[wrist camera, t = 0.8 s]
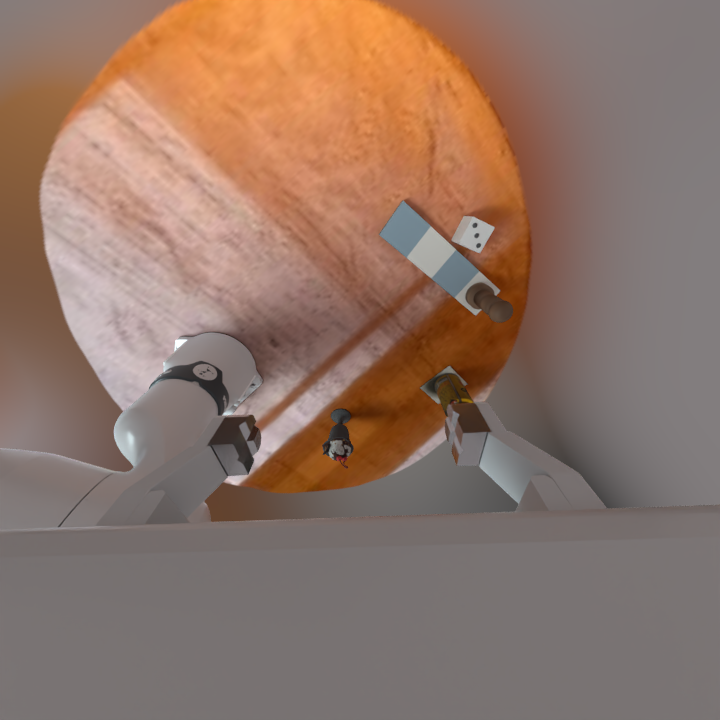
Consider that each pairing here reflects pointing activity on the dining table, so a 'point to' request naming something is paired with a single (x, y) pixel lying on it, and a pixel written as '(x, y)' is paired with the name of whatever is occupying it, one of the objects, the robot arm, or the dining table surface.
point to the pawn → (488, 302)
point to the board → (432, 254)
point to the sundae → (339, 438)
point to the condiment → (447, 389)
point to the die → (472, 233)
